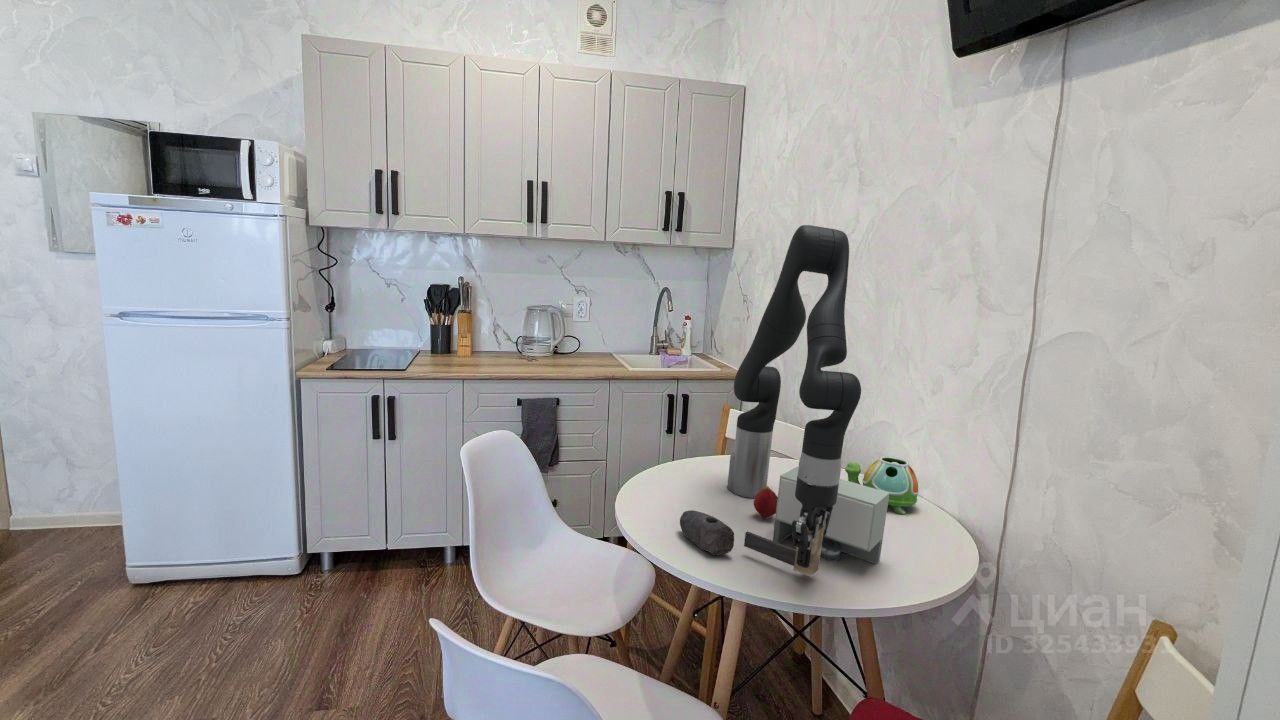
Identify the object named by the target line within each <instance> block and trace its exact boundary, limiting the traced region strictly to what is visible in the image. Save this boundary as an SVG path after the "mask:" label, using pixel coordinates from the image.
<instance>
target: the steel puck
mask: <svg viewBox="0 0 1280 720" xmlns="http://www.w3.org/2000/svg"><path fill="white" fill-rule="evenodd" d="M841 549H842V546H841V545H840V544H839V543H838V542H835V541H833V540H828V539H823V540H822V547H821V555H820V559H823V560H826V561H839V560H840V559H841V555H842V552H841Z"/></svg>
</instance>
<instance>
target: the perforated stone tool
mask: <svg viewBox="0 0 1280 720" xmlns="http://www.w3.org/2000/svg"><path fill="white" fill-rule="evenodd" d="M679 526H680V528H681V531H682V533H683V535H685V537H686V538H687V539H688V540H690V541H691V542H692V543H693V544H694V545H696V546H697V547H698V548H699V549H700V550H703V551H707V552H709V553H710V554H711V555H712V556H718V555H727V554H728V553H730V552H731V551H732V550H733V548H734V545H735V532H734V530H733V529H732V528H731V527H730V526H729V525H728V524H725V523H724V522H723V521H721V519H720V520H719V519H718V518H716V517H714V516H712V515H710V514H708V513H704V512H701V511H697V510H693V509H692V510H685V511H683V513H682V514H681V516H680V517H679Z"/></svg>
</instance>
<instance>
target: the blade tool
mask: <svg viewBox="0 0 1280 720" xmlns="http://www.w3.org/2000/svg"><path fill="white" fill-rule="evenodd" d="M808 532H809V533H812V532H813V531H810V530H808ZM823 533H824V527H821V526H819V528H818V531H817V533H816V538H813V543H812V548H811V554H810V562H809V566H808V567H807V568H804V567H801V566H799V565H797V555H798V547H795V548H792V547H790V546H787V545H784V544H781V543H777V542H774V541H773V539H772V540H771V539H769V538H766V537H763V536H761V535H758V534H755V533H752V532H750V531H748V530H747V531H745V534H744V541H743V543H744V544H743V547H745V548H748V549H750V550H753V551H755V552H756V553H757V552H758V553H760V554H762V555H765V556H768V557H770V558H773V559H775V560H777V561H780V562H782V563H785V564H787V565H790V566H792V567H793V571H795V572H798V573H800V574H802V575H805V576H808V577H811V578H812V577H813V575H815V574H816V573H817V572H818V571H819V570H820V569H819V568H820V561H821V558H820V555H821V547H822V540H823ZM808 539H809V538H808Z"/></svg>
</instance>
